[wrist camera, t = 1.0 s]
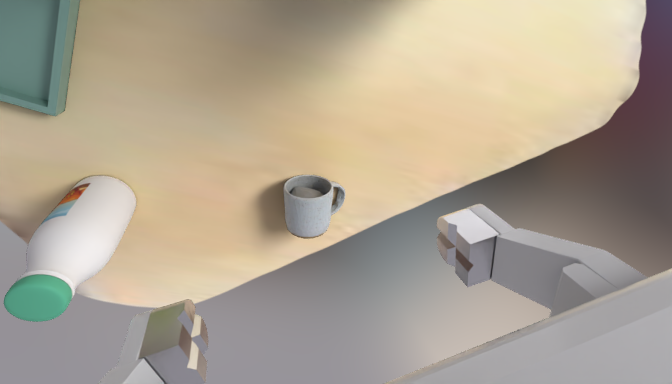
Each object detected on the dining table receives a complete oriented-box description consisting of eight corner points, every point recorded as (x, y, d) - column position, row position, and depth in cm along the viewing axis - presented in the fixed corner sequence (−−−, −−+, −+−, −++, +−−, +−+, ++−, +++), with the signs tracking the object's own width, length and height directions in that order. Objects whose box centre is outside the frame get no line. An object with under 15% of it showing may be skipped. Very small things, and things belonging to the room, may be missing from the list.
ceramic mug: (282, 219, 56) (290, 246, 49) (279, 176, 52) (288, 200, 45) (341, 211, 59) (356, 235, 52) (343, 169, 55) (359, 190, 48)
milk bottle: (120, 166, 45) (54, 260, 28) (147, 212, 49) (103, 317, 32) (60, 182, 44) (-48, 290, 27) (92, 227, 48) (17, 346, 31)
